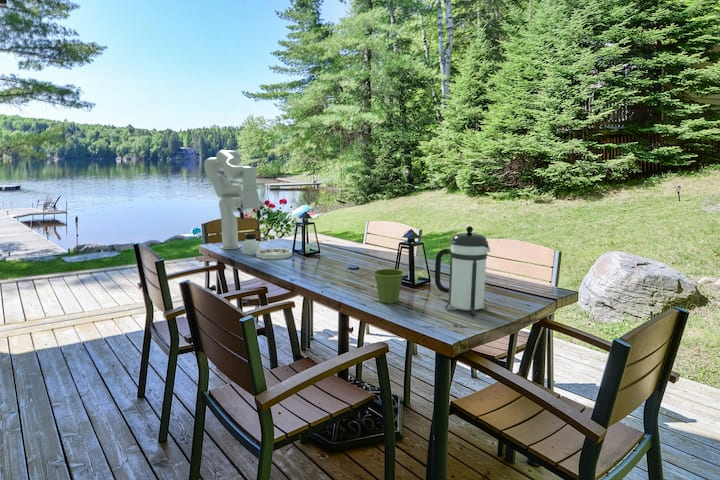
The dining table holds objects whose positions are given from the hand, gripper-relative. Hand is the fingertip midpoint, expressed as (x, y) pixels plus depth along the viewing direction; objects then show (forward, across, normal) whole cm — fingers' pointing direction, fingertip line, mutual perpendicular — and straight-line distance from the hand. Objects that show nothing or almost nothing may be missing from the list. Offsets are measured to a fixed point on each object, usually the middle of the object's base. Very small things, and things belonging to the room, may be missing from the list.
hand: (250, 218), depth 250 cm
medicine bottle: (+21, 0, -1) cm, 21 cm away
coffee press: (+18, -22, +139) cm, 142 cm away
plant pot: (+19, -6, +117) cm, 118 cm away
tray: (+21, -8, +13) cm, 26 cm away
